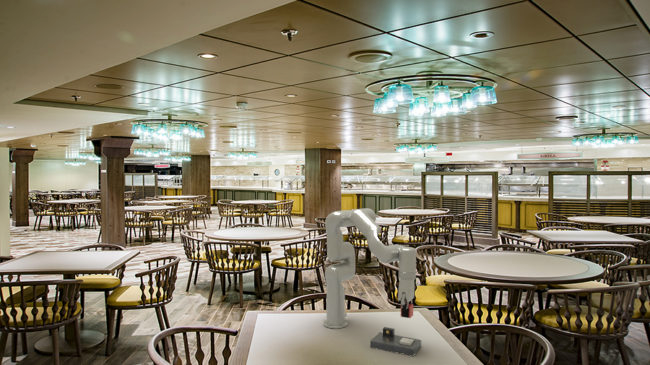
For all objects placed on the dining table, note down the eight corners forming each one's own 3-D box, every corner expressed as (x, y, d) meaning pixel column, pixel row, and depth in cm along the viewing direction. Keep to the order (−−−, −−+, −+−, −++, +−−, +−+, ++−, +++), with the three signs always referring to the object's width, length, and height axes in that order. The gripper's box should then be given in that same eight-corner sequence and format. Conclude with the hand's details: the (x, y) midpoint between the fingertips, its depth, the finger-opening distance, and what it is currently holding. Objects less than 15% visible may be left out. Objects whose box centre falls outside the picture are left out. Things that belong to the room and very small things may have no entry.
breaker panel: (379, 338, 203) (379, 325, 203) (421, 346, 194) (421, 333, 194) (370, 347, 193) (370, 334, 193) (413, 356, 183) (413, 342, 183)
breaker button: (402, 344, 194) (402, 337, 194) (413, 346, 192) (413, 339, 192) (399, 348, 190) (399, 341, 190) (410, 350, 188) (410, 343, 188)
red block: (403, 313, 194) (403, 302, 194) (413, 315, 192) (413, 304, 192) (400, 316, 190) (400, 305, 190) (410, 318, 188) (410, 306, 188)
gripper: (404, 270, 200) (404, 309, 200) (393, 277, 185) (392, 319, 185) (420, 272, 196) (420, 311, 197) (410, 280, 181) (409, 322, 182)
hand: (406, 315), depth 191 cm, fingers closed on red block, 4 cm apart
